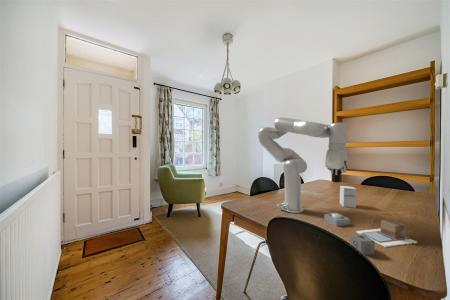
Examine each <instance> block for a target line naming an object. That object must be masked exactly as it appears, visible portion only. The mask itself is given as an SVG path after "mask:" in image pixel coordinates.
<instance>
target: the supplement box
mask: <svg viewBox="0 0 450 300" xmlns="http://www.w3.org/2000/svg"><path fill="white" fill-rule="evenodd" d="M339 205H341V206H342V207H346V208H354V209H356V208H357V187H353V186H349V185H340V186H339Z"/></svg>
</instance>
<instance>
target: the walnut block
mask: <svg viewBox="0 0 450 300" xmlns="http://www.w3.org/2000/svg"><path fill="white" fill-rule="evenodd" d="M406 228H407V227H406V224H404V223H401V222H398V221H396V220H393V219H382V220H381V219H380V229H381V233H383V234H385V235H387V236H389V237H391V238H394V239H400V238H405V237H407V236H406V234H407V233H406V230H407V229H406Z"/></svg>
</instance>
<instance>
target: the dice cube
mask: <svg viewBox="0 0 450 300" xmlns="http://www.w3.org/2000/svg"><path fill="white" fill-rule="evenodd" d="M375 243H376V242H375V241H374V240H372V239H370V238H369V237H367V236H365V235H364V234H359V233H355V234H353V233H352V234H350V245H351V244H352V245H354V246H355V247H356V248H357V249H359V250H360V251H361V252H362V253H363V254H365V255H375V250H376V249H375V247H376V246H375Z"/></svg>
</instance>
